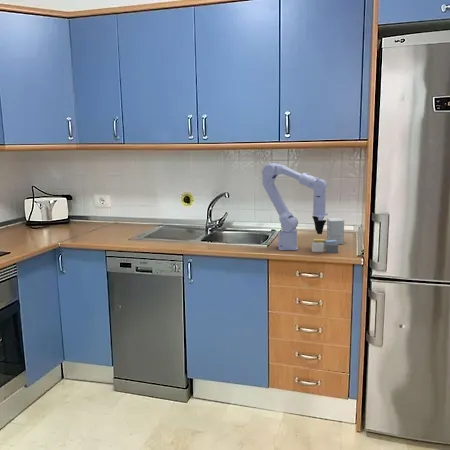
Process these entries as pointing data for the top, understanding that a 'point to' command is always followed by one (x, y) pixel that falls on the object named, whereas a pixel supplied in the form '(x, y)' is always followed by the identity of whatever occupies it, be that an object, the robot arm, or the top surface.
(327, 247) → the charcoal brick
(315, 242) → the mustard brick
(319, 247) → the light grey brick
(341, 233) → the supplement box
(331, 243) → the blue brick
